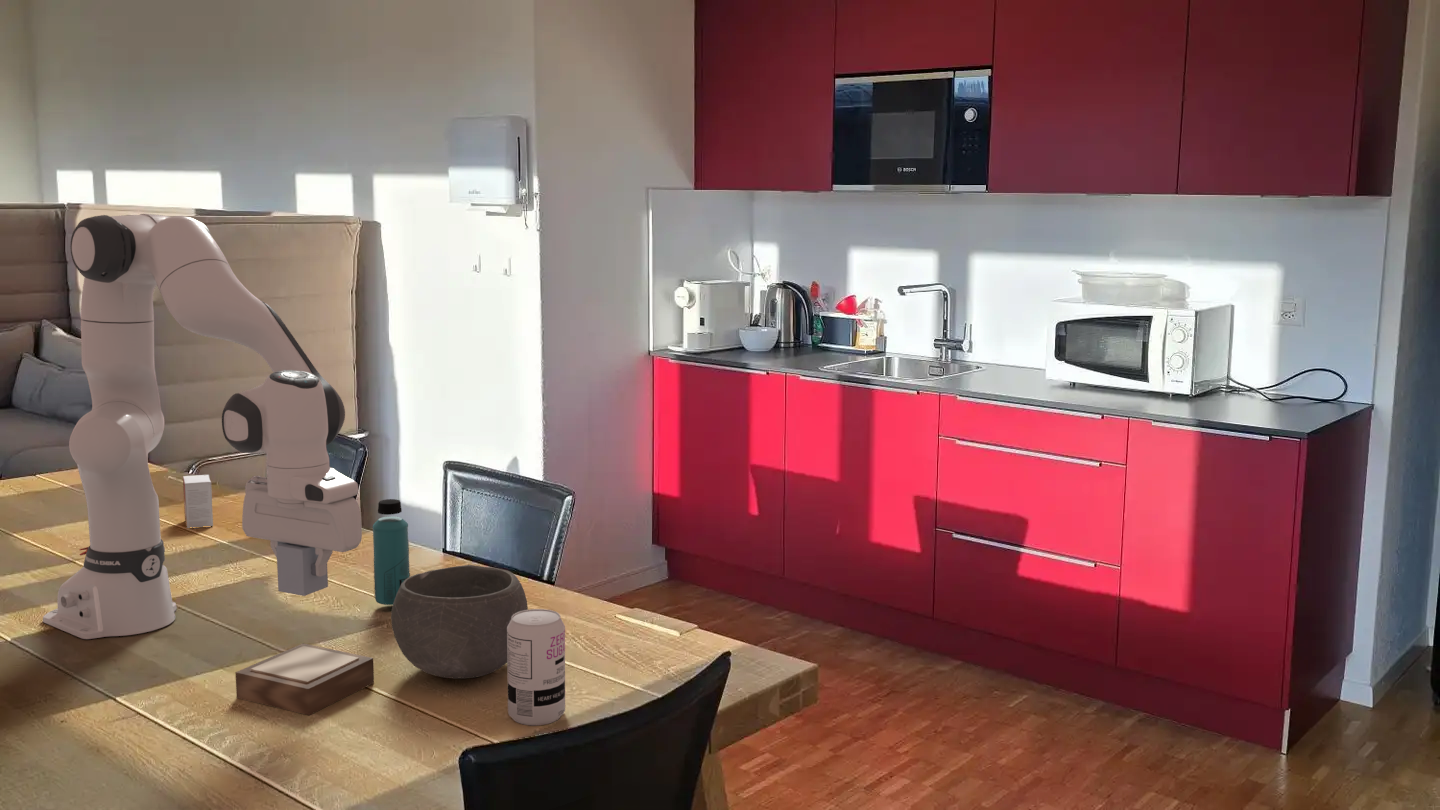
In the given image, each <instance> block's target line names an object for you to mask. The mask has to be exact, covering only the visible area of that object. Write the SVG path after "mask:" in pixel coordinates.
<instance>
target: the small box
mask: <svg viewBox="0 0 1440 810" xmlns="http://www.w3.org/2000/svg"><path fill="white" fill-rule="evenodd" d="M210 478H211V477H210V474H198V475H183V476H182V483H183V486H182V487H183V505H184V506H183V508H184V509H183V512H184V522H185V521H186V522H185V525H186V526H187V527H186V529H187V528H190V527H192V528H193V527H203V526H213V527H214V519H213V517H214V516H213V495H212V493H213V491H212V489H213V488H212V481H211V479H210Z"/></svg>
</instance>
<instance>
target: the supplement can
mask: <svg viewBox="0 0 1440 810" xmlns="http://www.w3.org/2000/svg"><path fill="white" fill-rule="evenodd" d="M506 666H507V670H506V671H507V673H506V674H507V713H508V716H509V717H510V718H512V721H515V723H517V724H521V725H525V726H543V725H549V724H552V723H554V722H557V721H558V720H560V719H561V716H563V715H564V713H565V712H566V626H565V624H564V622H563V620H562V617H561V614H560V613H559V612H557V611H556V610H555V611H554V610H552V609H545V608H533V609H528V610H524V611H520V612H517V613H515V614H513V616H512V617H511V621H510V623H509V625H508V626H507V663H506Z"/></svg>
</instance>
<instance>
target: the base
mask: <svg viewBox="0 0 1440 810" xmlns="http://www.w3.org/2000/svg"><path fill="white" fill-rule="evenodd" d="M374 669H375V668H374V657H370V656H365V655H361V654H357V653H350V652H345V651H342V650H338V649H337V650H336V649H333V648H327V647H322V646H318V645H314V644H308V643H301V644H298V645H296V646H293V647H292V648H289V649H287V650H285V651H282V652H280V653H277V654H275V655H273V656H270V657H267V658H266V659H263V660H261V661H259V662H256V663H254V664H252V665H249V666H247V667H244V668H242V669H240V670H237V671H236V672H235V692H236V698H237V699H241V700H245V701H249V702H251V703H256V704H260V705H263V706H264V705H265V706H269V707H273V708H277V709H281V710H285V711H288V712H289V711H290V712H295V713H298V714H302V715H305V716H306V715H307V716H311V715H313V714H315V713H317V712H319V711H320V710H323V709H325V708H326V707H328V706H330V705H333V704H335V703H336V702H337V703H338V702H339V701H340V700H343V699H345V698H347V697H349V696H351V695H353V694H354V693H357V692H358V691H360V690H363V689H364V688H366V687H368V686H370V685H373V684H374V683H375V677H374V676H375V675H374V674H375V672H374ZM372 683H373V684H372Z"/></svg>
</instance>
